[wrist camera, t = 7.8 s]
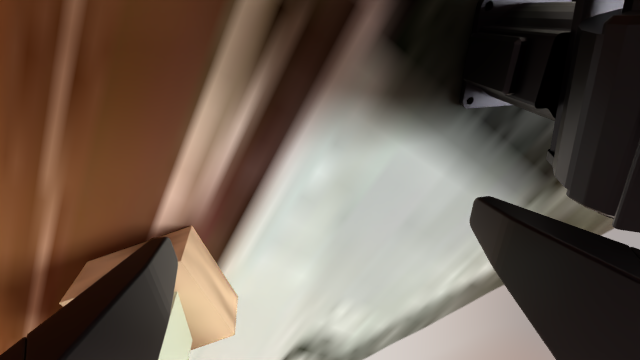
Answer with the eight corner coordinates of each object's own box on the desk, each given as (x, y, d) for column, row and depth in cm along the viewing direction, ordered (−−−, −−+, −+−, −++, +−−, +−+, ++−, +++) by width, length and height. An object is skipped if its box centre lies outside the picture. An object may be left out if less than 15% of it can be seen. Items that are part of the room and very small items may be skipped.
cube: (177, 291, 21) (155, 366, 16) (192, 340, 23) (176, 416, 19) (94, 302, 20) (48, 383, 16) (118, 351, 22) (84, 433, 18)
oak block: (192, 223, 23) (180, 260, 20) (238, 293, 27) (234, 334, 24) (89, 258, 23) (59, 303, 20) (149, 323, 27) (133, 370, 24)
